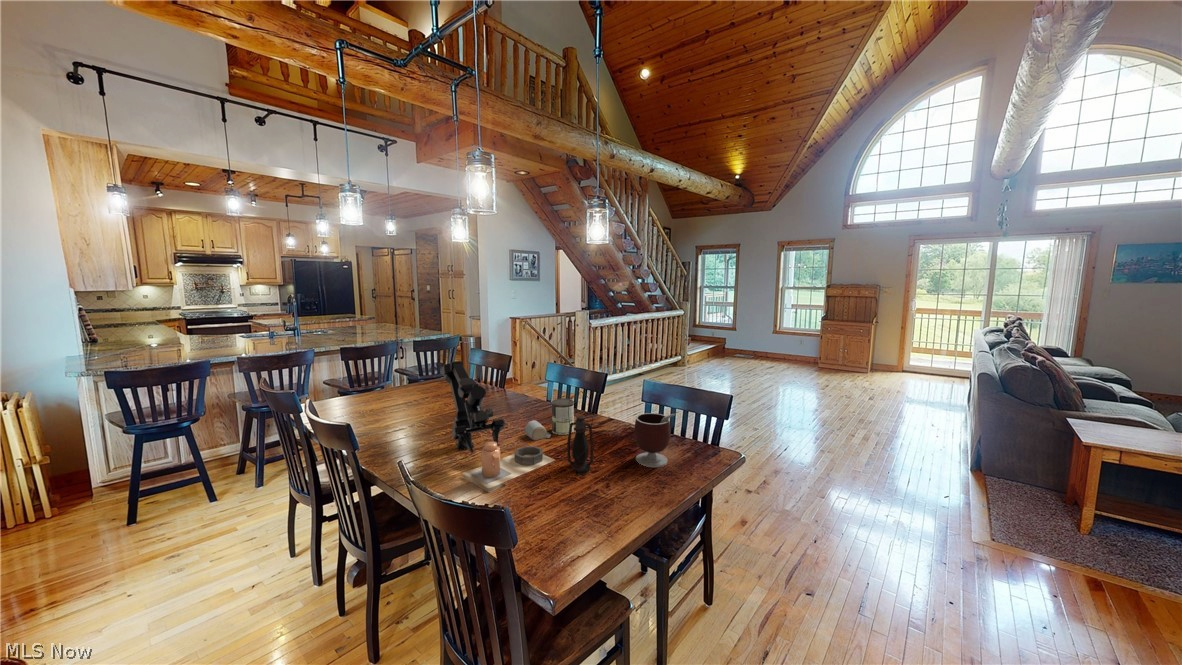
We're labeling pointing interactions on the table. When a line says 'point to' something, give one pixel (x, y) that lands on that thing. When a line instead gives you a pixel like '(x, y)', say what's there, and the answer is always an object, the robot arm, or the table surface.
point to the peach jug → (490, 460)
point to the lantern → (580, 444)
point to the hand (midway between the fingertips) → (484, 449)
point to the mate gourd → (652, 438)
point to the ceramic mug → (536, 430)
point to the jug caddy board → (510, 468)
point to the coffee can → (562, 416)
